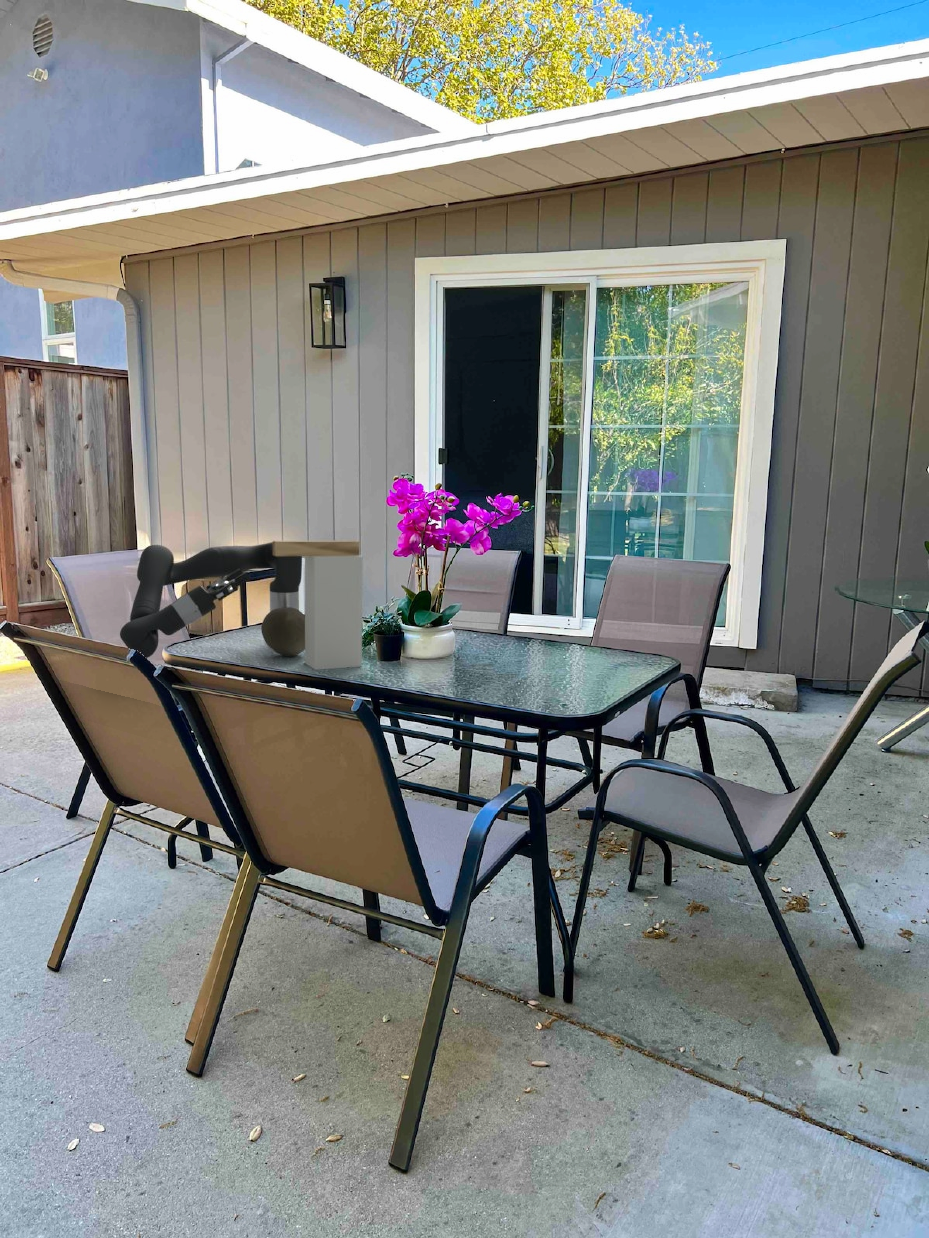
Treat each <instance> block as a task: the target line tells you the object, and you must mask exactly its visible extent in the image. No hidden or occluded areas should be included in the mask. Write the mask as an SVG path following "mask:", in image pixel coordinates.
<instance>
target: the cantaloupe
mask: <svg viewBox="0 0 929 1238" xmlns="http://www.w3.org/2000/svg"><path fill="white" fill-rule="evenodd" d="M260 627H261V634H262V638H263V641H264V643H266V645H267V646H268V647H269V648H270V649H271V650H272V651H274V652H275V653H277V654H279V655H280V656H284V657H295V656H298V655H300V654H302V653H303V652H305V613H303V612H302V611H301V610H300V609H299V610H298V609H295V608H292V607H288V608H277V609H274V610H272V611H271V612H270V611H269V612H268V613H267V614H266V615H265V616H264V619H263V620H262V623H261V625H260Z"/></svg>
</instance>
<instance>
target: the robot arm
mask: <svg viewBox="0 0 929 1238" xmlns="http://www.w3.org/2000/svg"><path fill="white" fill-rule="evenodd" d="M302 567H303V556H273V541H269V542H267V543H263V544H256V545H222V546H212V547H208V548H205V549H203V550H201V551H200V552H197V553H196V554H194V555H193V556H190V557H188V558H187V559H185V560H182V561H178V562H175V558H174V554H173V552H172V551H171V550H170V548H168V547H166V546H164V545H161V544H151V545H148V546H147V547H145V548H144V549H143V551H142V553H141V555H140V558H139V562H138V567H137V570H136V571H137V572H136V577H137V580H138V582H139V586H138V588H137V591H136V594H135V597H134V600H133V604H132V608H131V612H130V616H129V621H128V622H126V623H125V624H124V625H123V626H122V627H121V629H120V632H119V637H120V639H121V641H122V642H123V643H124V645H125V646H126V648H127V649H128V648H130V649H134V650H138V651H139V652H141V654H143V655H144V657H146V658H145V659H148V658H150V657H151V656H152V655H153V654H154V653H155V652H156V651H157V649H158V645H159V631H160V632H161V633H162V634H164V635H165V636H172V635H174V634H175V633H177V632H179V631H180V630H182V629H184V628H185V627H186V626H189V625H191V624H193V623H195V622H196V621H198V620H199V619H201V618H203V617H205V616H206V615H208V614H210V613H211V612H212V611H214V610H215V609H216V608H217V607H216V604H215V602H214V601H215V600H218V602H219V601H223V599H226V598H227V597H228V596H230V595H231V594H233V593H235V592H237V591H238V590H239V588H240V586H242V585H243V584H245V583H247V582H248V581H250V579H251V577H250V575H249V573H247V572H248V571H250V570H253V569H275V577H274V579H273V580H272V581H271V582H270V583H269V612H271V611H272V610H274V609H277V608H288V607H292V608H295V609H298V610H299V611H300V609H299V608H300V593H299V590H300V589H299V588H300V585H301V582H302V576H303V575H302V573H303V568H302ZM209 578H218V579H217V580H215V581H213V582H212V583H210V584H208V585H206V586H205V587H204V586H202V585H201V584H199V585H198V586H196V587H194V588H193V589H191V590H189V591H188V592H186V593H185V594H183V595H182V596H180V597H179V598H176V600H175V601H173V602H172V603H170V604H169V605H167V606H165V607H164V608H162V609H160V608H161V604H162V596H163V590H164V586H170V585H174V584H178V583H183V582H187V581H194V580H195V581H196V580H202V579H209Z"/></svg>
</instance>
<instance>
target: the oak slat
mask: <svg viewBox="0 0 929 1238" xmlns="http://www.w3.org/2000/svg"><path fill="white" fill-rule="evenodd" d="M272 542H273V556H302V557H305V556H350V555H360V540H356V539H355V540H351V539H350V540H272Z"/></svg>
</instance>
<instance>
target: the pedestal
mask: <svg viewBox="0 0 929 1238" xmlns="http://www.w3.org/2000/svg"><path fill="white" fill-rule="evenodd" d="M363 558H364V557H363V555H360V554H359V555H350V556H304V616H305V650H304V663H305V664H306V665H307V666H309V667H310V668H311V669H313V670H314V671H315V670H318V671H319V670H332V669H345V668H346V669H348V668H347V667H349V668H361V667H362V666H363V573H364V572H363V569H364V568H363Z"/></svg>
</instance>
